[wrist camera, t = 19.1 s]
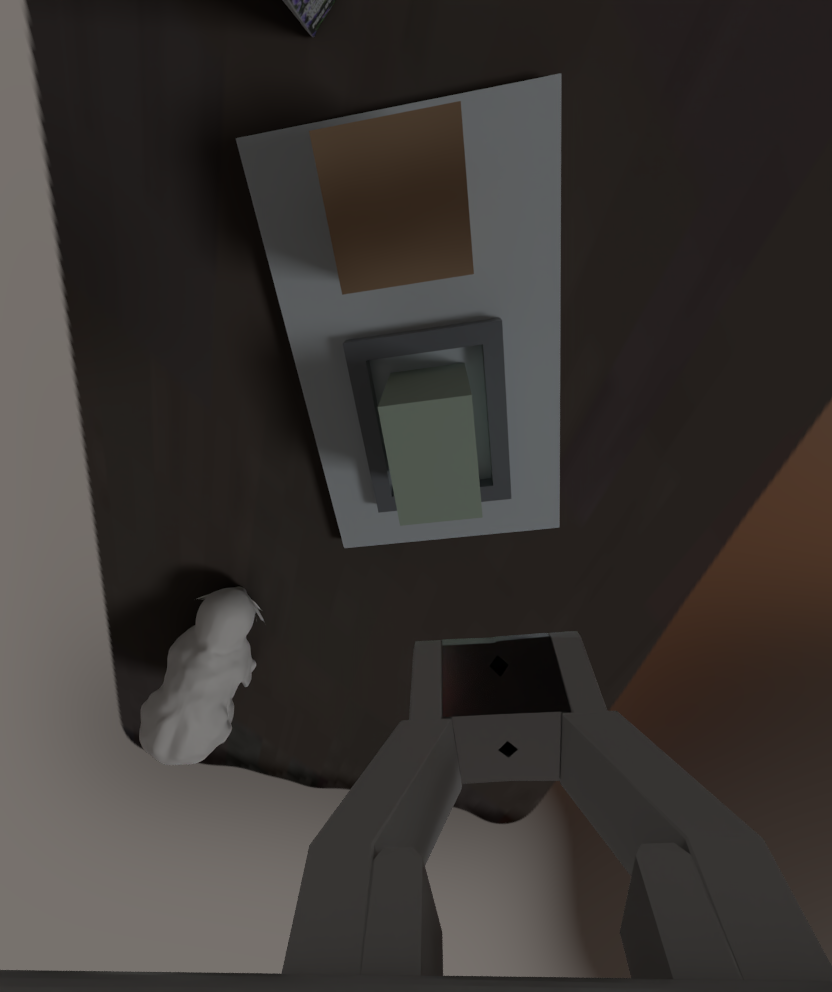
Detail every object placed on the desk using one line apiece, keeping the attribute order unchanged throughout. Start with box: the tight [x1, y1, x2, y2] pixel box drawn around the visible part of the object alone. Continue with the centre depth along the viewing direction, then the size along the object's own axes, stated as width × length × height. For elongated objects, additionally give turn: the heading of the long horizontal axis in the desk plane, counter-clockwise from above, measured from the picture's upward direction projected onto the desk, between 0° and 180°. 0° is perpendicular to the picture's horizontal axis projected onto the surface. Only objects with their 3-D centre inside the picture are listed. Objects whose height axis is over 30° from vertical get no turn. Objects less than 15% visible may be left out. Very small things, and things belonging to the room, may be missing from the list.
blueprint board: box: [236, 74, 561, 548], centre depth 22 cm, size 22×14×7 cm, turn 8°
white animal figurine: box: [139, 586, 264, 765], centre depth 32 cm, size 6×8×12 cm
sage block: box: [378, 363, 483, 526], centre depth 23 cm, size 6×4×6 cm, turn 8°
